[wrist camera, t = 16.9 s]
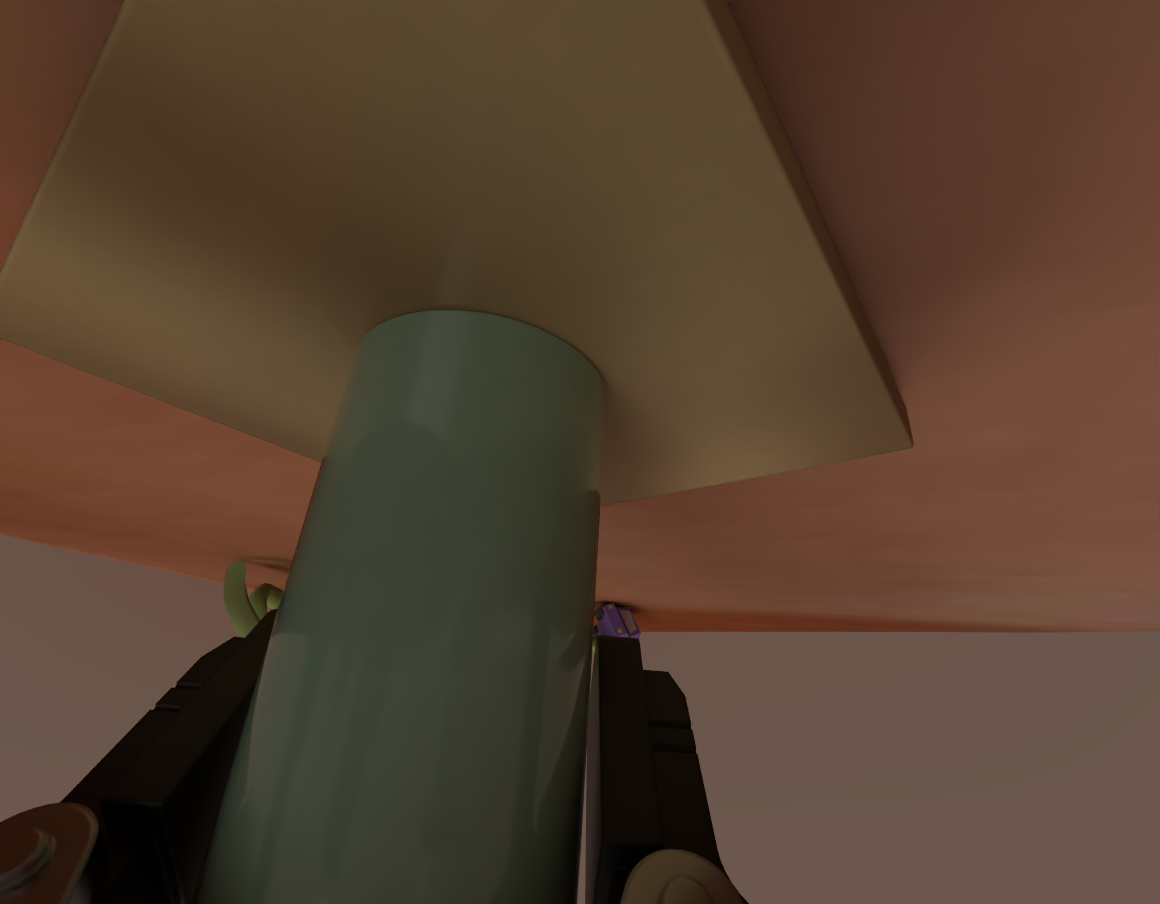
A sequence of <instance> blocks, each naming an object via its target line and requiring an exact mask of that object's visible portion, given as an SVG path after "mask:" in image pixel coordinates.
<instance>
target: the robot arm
mask: <svg viewBox="0 0 1160 904" xmlns="http://www.w3.org/2000/svg"><path fill="white" fill-rule="evenodd" d="M277 610H278V609H273V610H271V611H269V612H268V613H267V614H266V615H265V616H264V617H263V618H262V619H261V620H260V622H259V623H258V624H257V625H256V626H255V627H254V628H253V629H252V630H251V631H250V633H249V634H248V635H247V636H246V637H233V638H231V639H230V640H228V641H226V642H225V643H223V644H222V645H220V646H218V647H217V648H215V649H213V650H212V651H211V652H209V653H207V654H205V655H204V656H202V657H201V658H200V659H199V660H198V661H197V662H196V663H195V664H194V665H193V666H192V667H191V668H190V669H189V670H188V671H187V672H186V673H185V675H184V676H182V677H181V679H180V680H179V681H178V682H177V685H176V687H175V688H171V689H170V690H169V691H168V692H167V693H166V694H165V695H164V696H163V697H162V698H161V699H160V700H159V701H158V702H157V703H156V707H155V709H154V710H149V711H148V713H147V714H146V715H145V716H144V717H143V718H142V719H141V720H140V721H139V722H138V723H137V724H136V725H135V726H134V727H133V728H132V729H131V730H130V731H129V732H128V733H127V734H126V735H125V736H124V737H123V738H122V739H121V740H120V741H119V743H117V744H116V746H115V747H114V748H113V749H112V750H111V751H110V752H109V753H108V754H107V755H106V756H105V757H104V758H103V759H102V760H101V761H100V762H99V763H98V764H97V765H96V766H95V767H94V768H93V769H92V770H91V771H90V772H89V773H88V775H86V777H84V779H83V780H82V781H81V782H80V783H79V784H78V785H77V786H76V787H75V788H74V789H73V790H72V791H71V792H70V793H69V794H68V795H67V796H66V797H65V798H64V799H63V800H62V801H61V802H60V803H55V804H48V805H44V806H40V807H36V808H33V809H30V810H27V811H24V812H21V813H19V814H17V815H14V816H12V817H10V818H8V819H6V820H4V821H2V822H0V904H190V903H191V900H192V897H193V893H194V890H195V886H196V883H197V880H198V876H199V873H200V870H201V866H202V863H203V859H204V856H205V853H206V849H207V846H208V843H209V839H210V836H211V833H212V829H213V826H214V822H215V819H216V816H217V812H218V809H219V806H220V802H221V799H222V796H223V792H224V789H225V785H226V782H227V779H228V775H229V772H230V769H231V765H232V762H233V758H234V755H235V752H236V748H237V745H238V742H239V738H240V735H241V732H242V728H243V725H244V721H245V718H246V715H247V711H248V708H249V705H250V701H251V698H252V695H253V691H254V688H255V684H256V681H257V678H258V674H259V671H260V668H261V664H262V661H263V657H264V654H265V651H266V647H267V644H268V641H269V637H270V634H271V631H272V627H273V624H274V620H275V617H276V614H277ZM586 793H587V795H586V799H587V800H586V886H585V887H586V888H585V904H749V903H748V902H747V901H746V900H745V899H744V898H743V897H742V896H741V895H740V893H739V892H738V891H737V889H736V888H735V886H734V885H733V884H732V882H731V881H730V879H729V877H728V875H727V874H726V872H725V870H724V867H723V865H722V863H721V860H720V857H719V853H718V850H717V845H716V840H715V835H714V831H713V826H712V821H711V816H710V812H709V807H708V802H707V797H706V793H705V788H704V784H703V779H702V774H701V769H700V765H699V759H698V755H697V754H696V745H695V740H694V736H693V732H692V729H691V721H690V717H689V712H688V707H687V703H686V698H685V695H684V694H683V692H682V691H681V689H680V688H679V687H678V685H677V684H676V682H675V681H674V679H673V678H672V677H671V675H670V674H669V672H662V671H651V670H643V666H642V658H641V649H640V642H639V639H638V638H629V637H616V636H604V635H597V638H596V646H595V656H594V664H593V674H592V682H591V692H590V701H589V715H588V732H587V792H586Z"/></svg>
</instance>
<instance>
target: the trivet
mask: <svg viewBox="0 0 1160 904" xmlns="http://www.w3.org/2000/svg"><path fill="white" fill-rule="evenodd" d="M436 309H459V310H470V311H480V312H485V313H491V314H496V315H501V316H505V317H508V318H512V319H516V320H519V321H522V322H525V323H528V324H531V325H533V326H536V327H538V328H541V329H543V330H545V331H547V332H549V333H551V334H554V335H555V336H557V337H559V338H560V339H562V340H564V341H566V342H567V343H569V344H570V345H572V346H573V347H574V348H576V349H577V350H578V351H580V352H581V353H582V354H583V355H584V356H585V357H586V358H587V359H588V360H589V361H590V362H591V363H592V364H593V366H594V367H595V368H596V369H597V371H598V373H599V375H600V376H601V378H602V380H603V383H604V386H605V389H606V417H605V435H604V452H603V470H602V487H601V505H600V506H605V505H611V504H616V503H621V502H627V501H632V500H637V499H643V498H648V497H653V496H659V495H664V494H669V493H675V492H680V491H685V490H691V489H696V488H701V487H707V486H712V485H717V484H723V483H728V482H734V481H739V480H744V479H750V478H755V477H760V476H766V475H771V474H776V473H782V472H787V471H792V470H798V469H803V468H808V467H814V466H819V465H824V464H830V463H835V462H840V461H846V460H851V459H856V458H862V457H867V456H873V455H878V454H883V453H889V452H894V451H899V450H905V449H910V448H912V447H913V444H914V443H913V438H912V433H911V428H910V424H909V419H908V414H907V409H906V406H905V403H904V401H903V399H902V397H901V394H900V392H899V390H898V388H897V385H896V383H895V381H894V379H893V376H892V374H891V372H890V369H889V367H888V365H887V363H886V360H885V358H884V356H883V354H882V351H881V349H880V347H879V345H878V342H877V340H876V338H875V335H874V333H873V331H872V329H871V326H870V324H869V322H868V320H867V317H866V315H865V313H864V311H863V308H862V306H861V304H860V301H859V299H858V297H857V295H856V292H855V290H854V288H853V286H852V283H851V281H850V279H849V277H848V274H847V272H846V270H845V267H844V265H843V263H842V261H841V258H840V256H839V254H838V252H837V249H836V247H835V245H834V243H833V240H832V238H831V236H830V233H829V231H828V229H827V227H826V224H825V222H824V220H823V218H822V215H821V213H820V211H819V209H818V206H817V204H816V202H815V199H814V197H813V195H812V193H811V190H810V188H809V186H808V184H807V181H806V179H805V177H804V175H803V172H802V170H801V168H800V165H799V163H798V161H797V159H796V156H795V154H794V152H793V150H792V147H791V145H790V143H789V141H788V138H787V136H786V134H785V131H784V129H783V127H782V125H781V122H780V120H779V118H778V116H777V113H776V111H775V109H774V107H773V104H772V102H771V100H770V97H769V95H768V93H767V91H766V88H765V86H764V84H763V82H762V79H761V77H760V75H759V73H758V70H757V68H756V66H755V64H754V61H753V59H752V57H751V54H750V52H749V50H748V48H747V45H746V43H745V41H744V39H743V36H742V34H741V32H740V30H739V27H738V25H737V23H736V20H735V18H734V16H733V14H732V11H731V9H730V7H729V5H728V2H727V0H124V1H123V3H122V5H121V7H120V9H119V12H118V14H117V16H116V18H115V20H114V22H113V25H112V27H111V29H110V31H109V33H108V36H107V38H106V40H105V42H104V44H103V47H102V49H101V51H100V53H99V55H98V58H97V60H96V62H95V64H94V66H93V68H92V71H91V73H90V75H89V77H88V79H87V82H86V84H85V86H84V88H83V90H82V93H81V95H80V97H79V99H78V101H77V104H76V106H75V108H74V110H73V112H72V114H71V117H70V119H69V121H68V123H67V125H66V128H65V130H64V132H63V134H62V136H61V139H60V141H59V143H58V145H57V147H56V150H55V152H54V154H53V156H52V158H51V160H50V163H49V165H48V167H47V169H46V171H45V174H44V176H43V178H42V180H41V182H40V185H39V187H38V189H37V191H36V193H35V196H34V198H33V200H32V202H31V204H30V207H29V209H28V211H27V213H26V215H25V217H24V220H23V222H22V224H21V226H20V228H19V231H18V233H17V235H16V237H15V239H14V242H13V244H12V246H11V248H10V250H9V253H8V255H7V257H6V259H5V261H4V263H3V266H2V268H1V270H0V339H3V340H6V341H8V342H11V343H13V344H16V345H18V346H21V347H24V348H26V349H29V350H31V351H34V352H37V353H39V354H42V355H44V356H47V357H50V358H52V359H55V360H57V361H60V362H62V363H65V364H68V365H70V366H73V367H75V368H78V369H81V370H83V371H86V372H88V373H91V374H94V375H96V376H99V377H101V378H104V379H106V380H109V381H112V382H114V383H117V384H119V385H122V386H125V387H127V388H130V389H132V390H135V391H138V392H140V393H143V394H145V395H148V396H150V397H153V398H156V399H158V400H161V401H163V402H166V403H169V404H171V405H174V406H176V407H179V408H181V409H184V410H187V411H189V412H192V413H194V414H197V415H200V416H202V417H205V418H207V419H210V420H213V421H215V422H218V423H220V424H223V425H225V426H228V427H231V428H233V429H236V430H238V431H241V432H244V433H246V434H249V435H251V436H254V437H257V438H259V439H262V440H264V441H267V442H269V443H272V444H275V445H277V446H280V447H282V448H285V449H288V450H290V451H293V452H295V453H298V454H301V455H303V456H306V457H308V458H311V459H313V460H316V461H319V462H322V459H323V455H324V452H325V449H326V445H327V442H328V439H329V435H330V432H331V429H332V425H333V422H334V418H335V415H336V412H337V408H338V405H339V402H340V398H341V395H342V392H343V388H344V385H345V381H346V378H347V375H348V371H349V368H350V365H351V361H352V358H353V354H354V351H355V349H356V347H357V345H358V343H359V341H360V340H361V339H362V338H363V337H364V335H365V334H366V333H367V332H368V331H370V330H371V329H372V328H374V327H375V326H377V325H378V324H380V323H382V322H384V321H386V320H388V319H390V318H393V317H396V316H400V315H403V314H407V313H412V312H417V311H424V310H436Z"/></svg>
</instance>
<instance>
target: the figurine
mask: <svg viewBox="0 0 1160 904" xmlns="http://www.w3.org/2000/svg"><path fill="white" fill-rule="evenodd" d="M245 573H246V562H243V561H241V560H240V561H237V562H234V563H232V564H231V565H230V566H229V567H228V568H227V570H226V573H225V581H224V602H225V607H226V611H227V613H228V615H229V617H230V620H231V622H232V624H233V626H234V627H235V629H236V631H237V632H238V634H239V635H240V637H246V636H247V635H248V634H249V633H250V631H251V630H252V629H253V628H254V627H255V626H256V625H257V624H258V623H259V622H260V620H261V619H262V618H263V617H264V616H265V615H266V614H267V606H268V607H269V608H270V609H271V610H273V609H278V607H279V604H280V600H281V597H282V594H283V590H281V589H279V588H277V587H275V586H273V585H271V584H268V583H264V584H262V585H260V586H258V587H257V588H256V589H255V591H254V592H253V593H252V594H251V595H250V597H249V598H248V594H247V590H246V584H245ZM594 614H595V616H596V618H597V620H599V621H598V624H597V625H596V626H594V627H593V645H592V652H593V653H595V646H596V638H597V635H604V636H616V637H629V638H638V639H639V637H640V634H641V632H640V630H639V628H638V626H637V624H636V622H635V620H634V618H633V616H632V613H631V611H630V609H629V607H615V605H614V603H611V604H608V605H604V606H603V607H601V608H599V609H597V610H596V611H595V612H594Z"/></svg>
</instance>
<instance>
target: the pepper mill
mask: <svg viewBox="0 0 1160 904" xmlns="http://www.w3.org/2000/svg"><path fill="white" fill-rule="evenodd" d="M605 417H606V389H605V386H604V383H603V380H602V378H601V376H600V375H599V373H598V371H597V369H596V368H595V367H594V366H593V364H592V363H591V362H590V361H589V360H588V359H587V358H586V357H585V356H584V355H583V354H582V353H581V352H580V351H578V350H577V349H576V348H574V347H573V346H572V345H570V344H569V343H567V342H566V341H564V340H562V339H560V338H559V337H557V336H555V335H554V334H551V333H549V332H547V331H545V330H543V329H541V328H538V327H536V326H533V325H531V324H528V323H525V322H522V321H519V320H516V319H512V318H508V317H505V316H501V315H496V314H491V313H485V312H480V311H470V310H459V309H436V310H424V311H417V312H412V313H407V314H403V315H400V316H396V317H393V318H390V319H388V320H386V321H384V322H382V323H380V324H378V325H377V326H375V327H374V328H372V329H371V330H370V331H368V332H367V333H366V334H365V335H364V337H363V338H362V339H361V340H360V341H359V343H358V345H357V347H356V349H355V351H354V354H353V358H352V361H351V365H350V368H349V371H348V375H347V378H346V381H345V385H344V388H343V392H342V395H341V398H340V402H339V405H338V408H337V412H336V415H335V418H334V422H333V425H332V429H331V432H330V435H329V439H328V442H327V445H326V449H325V452H324V455H323V459H322V462H321V466H320V469H319V472H318V476H317V479H316V482H315V486H314V489H313V493H312V496H311V499H310V503H309V506H308V509H307V513H306V516H305V519H304V523H303V526H302V530H301V533H300V536H299V540H298V543H297V546H296V550H295V553H294V556H293V560H292V563H291V567H290V570H289V573H288V577H287V580H286V583H285V587H284V590H283V594H282V597H281V600H280V604H279V607H278V610H277V614H276V617H275V620H274V624H273V627H272V631H271V634H270V637H269V641H268V644H267V647H266V651H265V654H264V657H263V661H262V664H261V668H260V671H259V674H258V678H257V681H256V684H255V688H254V691H253V695H252V698H251V701H250V705H249V708H248V711H247V715H246V718H245V721H244V725H243V728H242V732H241V735H240V738H239V742H238V745H237V748H236V752H235V755H234V758H233V762H232V765H231V769H230V772H229V775H228V779H227V782H226V785H225V789H224V792H223V796H222V799H221V802H220V806H219V809H218V812H217V816H216V819H215V822H214V826H213V829H212V833H211V836H210V839H209V843H208V846H207V849H206V853H205V856H204V859H203V863H202V866H201V870H200V873H199V876H198V880H197V883H196V886H195V890H194V893H193V897H192V900H191V903H190V904H578V889H579V872H580V854H581V836H582V820H583V802H584V785H585V766H586V750H587V732H588V715H589V697H590V680H591V662H592V645H593V627H594V610H595V592H596V575H597V557H598V540H599V522H600V505H601V487H602V470H603V452H604V435H605Z"/></svg>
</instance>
